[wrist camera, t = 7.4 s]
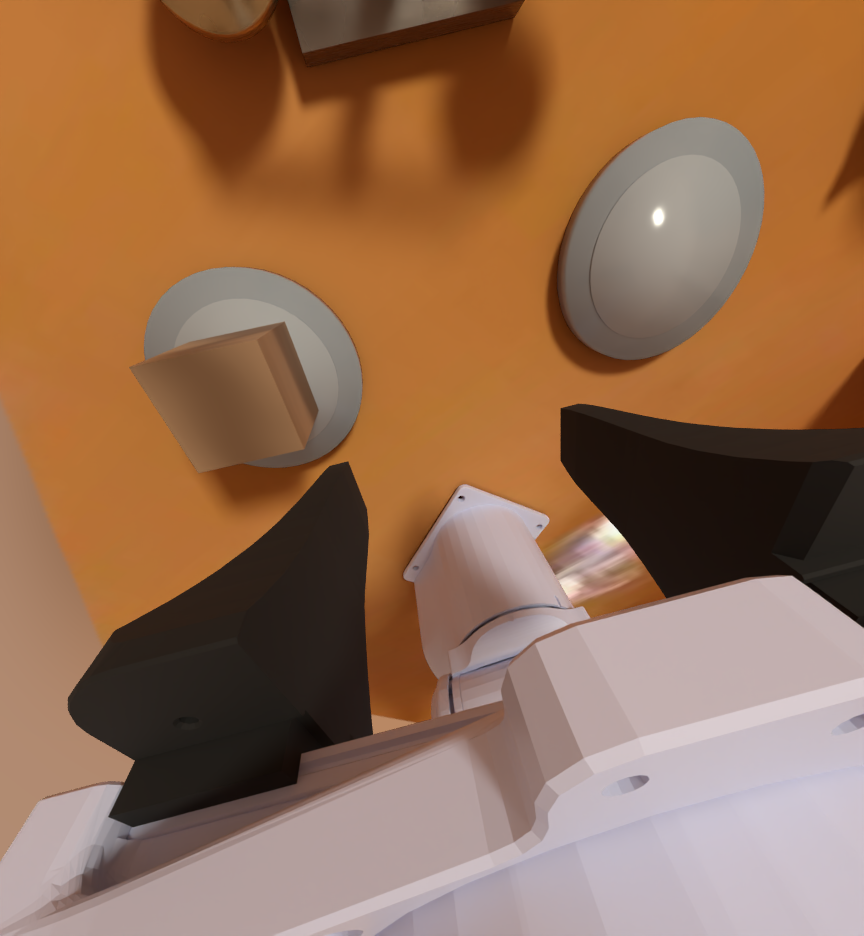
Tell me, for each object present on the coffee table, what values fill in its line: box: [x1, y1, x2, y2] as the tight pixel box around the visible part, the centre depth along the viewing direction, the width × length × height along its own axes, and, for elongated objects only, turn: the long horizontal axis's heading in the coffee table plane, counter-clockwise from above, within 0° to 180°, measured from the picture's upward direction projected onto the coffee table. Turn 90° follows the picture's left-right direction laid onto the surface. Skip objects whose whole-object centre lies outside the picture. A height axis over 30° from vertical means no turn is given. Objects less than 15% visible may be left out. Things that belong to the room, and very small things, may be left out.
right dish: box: [557, 117, 764, 360], centre depth 17 cm, size 10×10×1 cm
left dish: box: [144, 267, 363, 468], centre depth 18 cm, size 10×10×1 cm
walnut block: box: [129, 321, 319, 473], centre depth 15 cm, size 4×4×4 cm
